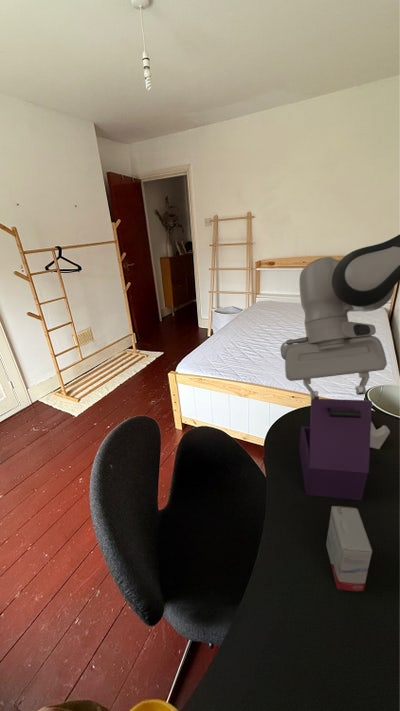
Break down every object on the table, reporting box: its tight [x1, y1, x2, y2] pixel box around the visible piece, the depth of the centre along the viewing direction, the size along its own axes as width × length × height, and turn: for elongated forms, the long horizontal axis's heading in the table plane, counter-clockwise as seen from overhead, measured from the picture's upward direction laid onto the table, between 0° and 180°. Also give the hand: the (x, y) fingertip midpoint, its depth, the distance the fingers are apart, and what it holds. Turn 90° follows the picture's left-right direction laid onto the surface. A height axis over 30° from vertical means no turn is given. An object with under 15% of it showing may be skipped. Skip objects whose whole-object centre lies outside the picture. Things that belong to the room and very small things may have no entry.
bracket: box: [370, 421, 391, 450], centre depth 90 cm, size 13×7×8 cm, turn 171°
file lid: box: [309, 398, 373, 474], centre depth 65 cm, size 16×13×5 cm
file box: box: [298, 425, 368, 501], centre depth 77 cm, size 16×13×9 cm
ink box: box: [325, 505, 373, 592], centre depth 56 cm, size 9×5×12 cm, turn 171°
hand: (337, 396), depth 64 cm, fingers open, 8 cm apart
